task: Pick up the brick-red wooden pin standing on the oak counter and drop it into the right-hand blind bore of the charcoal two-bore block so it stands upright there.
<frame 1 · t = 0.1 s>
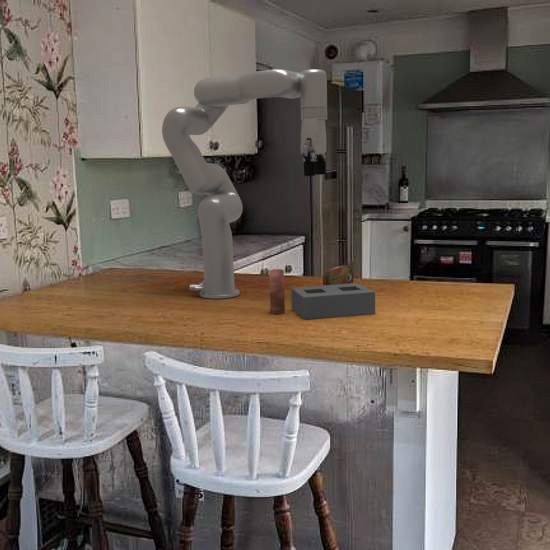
hand: (315, 175, 201), 37 cm above the countertop, tool pointing down, fingers open, 9 cm apart
tin: (338, 294, 217), on the countertop
pin: (277, 312, 193), on the countertop
bore block: (332, 310, 193), on the countertop
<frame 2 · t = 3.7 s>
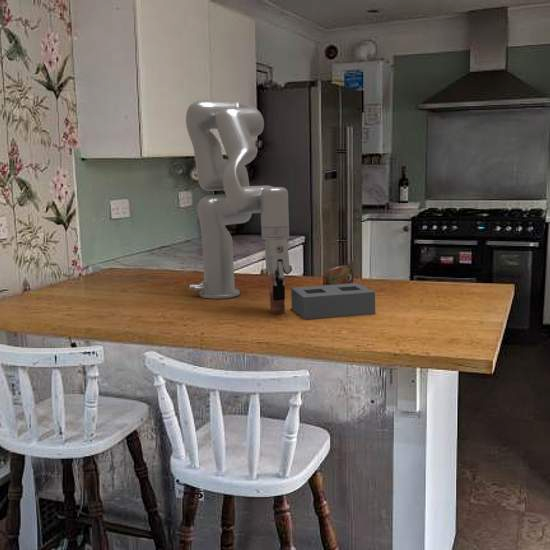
hand: (277, 297, 192), 4 cm above the countertop, tool pointing down, fingers closed on pin, 4 cm apart
pin: (277, 312, 193), on the countertop, touching gripper
everything else where it was.
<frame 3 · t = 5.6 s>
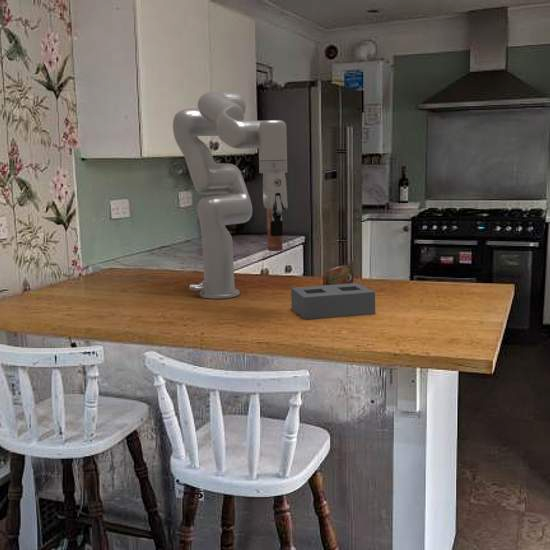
hand: (274, 234, 190), 22 cm above the countertop, tool pointing down, fingers closed on pin, 4 cm apart
pin: (275, 249, 190), point 18 cm above the countertop, touching gripper
everything else where it was.
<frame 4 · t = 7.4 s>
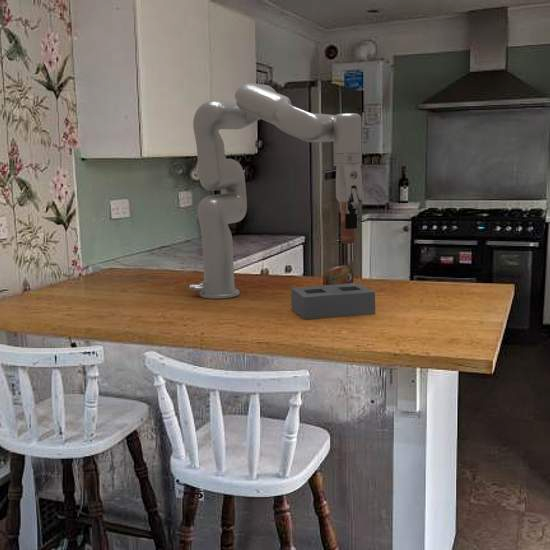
hand: (348, 227, 190), 23 cm above the countertop, tool pointing down, fingers closed on pin, 4 cm apart
pin: (348, 242, 191), point 19 cm above the countertop, touching gripper
everything else where it was.
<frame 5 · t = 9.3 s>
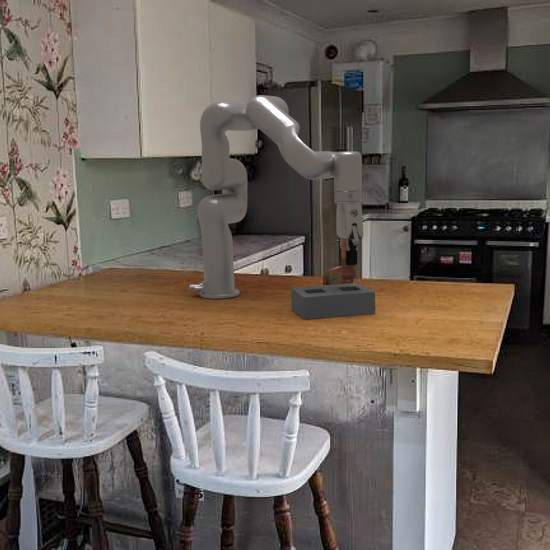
hand: (348, 262, 192), 13 cm above the countertop, tool pointing down, fingers closed on pin, 4 cm apart
pin: (348, 278, 193), point 9 cm above the countertop, touching gripper
everything else where it was.
when the fingers open (7 cm above the countertop, at t = 11.2 s): pin drops 1 cm, resting on bore block.
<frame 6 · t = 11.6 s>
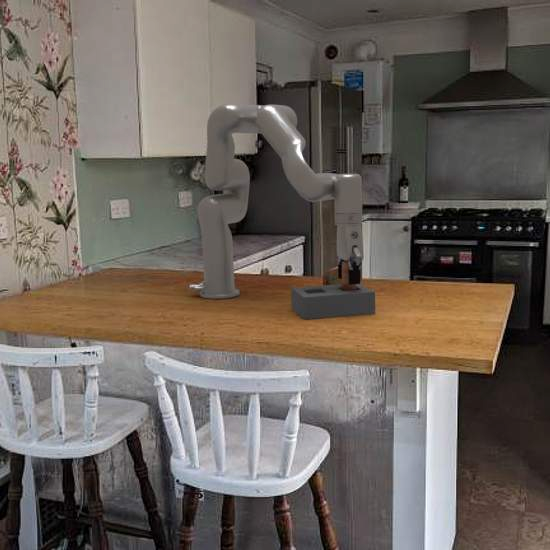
hand: (349, 281, 193), 8 cm above the countertop, tool pointing down, fingers open, 8 cm apart
pin: (349, 304, 194), point 2 cm above the countertop, touching bore block
everything else where it was.
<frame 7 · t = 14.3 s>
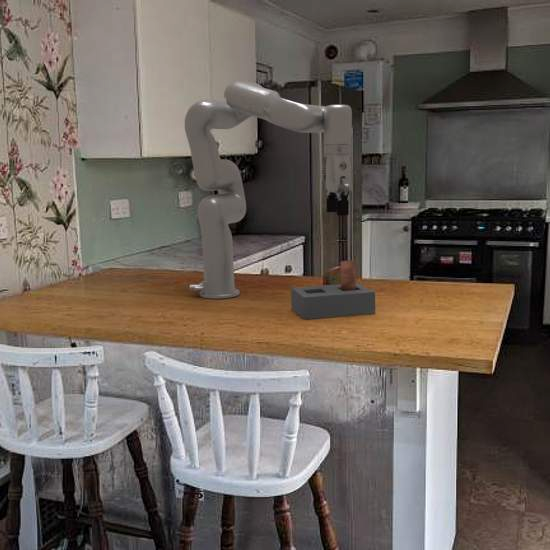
hand: (337, 213, 193), 27 cm above the countertop, tool pointing down, fingers open, 9 cm apart
nothing on the countertop moved.
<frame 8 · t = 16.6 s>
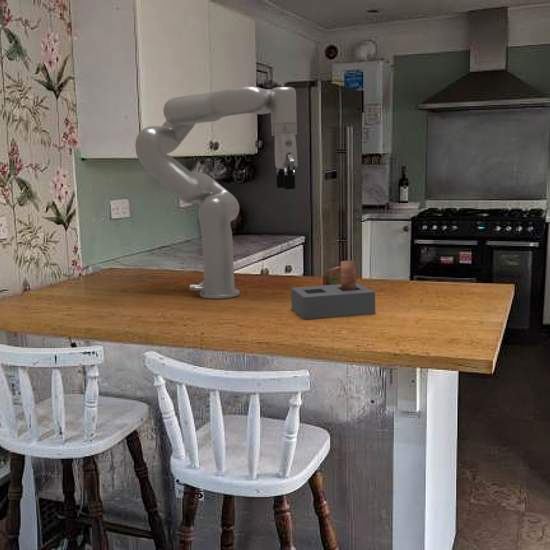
hand: (285, 188, 208), 33 cm above the countertop, tool pointing down, fingers open, 9 cm apart
nothing on the countertop moved.
at the end: pin 0.1 cm from the target spot on the bore block, point 1.6 cm above the bore block's base; pin tilted 2°; the gripper is holding nothing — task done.
